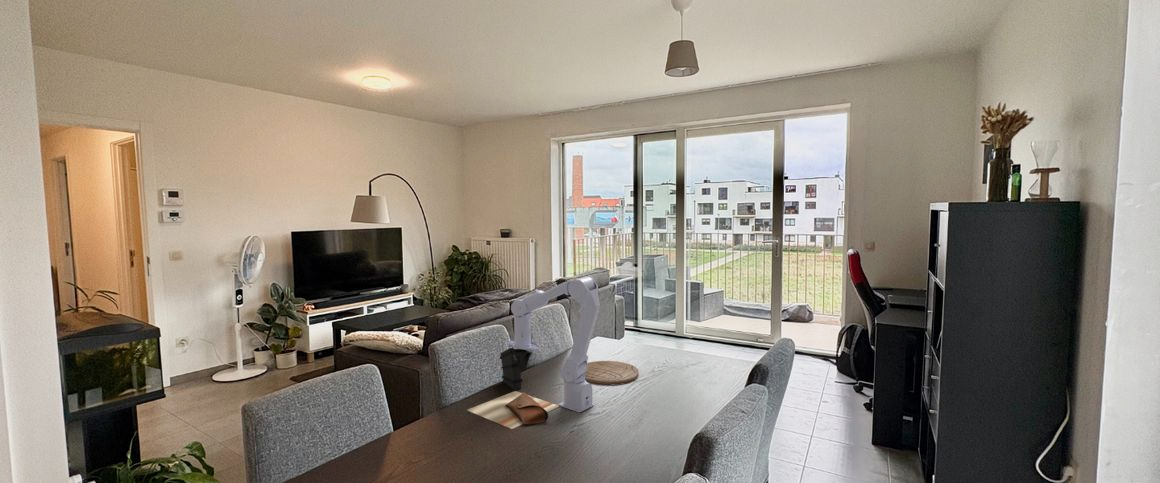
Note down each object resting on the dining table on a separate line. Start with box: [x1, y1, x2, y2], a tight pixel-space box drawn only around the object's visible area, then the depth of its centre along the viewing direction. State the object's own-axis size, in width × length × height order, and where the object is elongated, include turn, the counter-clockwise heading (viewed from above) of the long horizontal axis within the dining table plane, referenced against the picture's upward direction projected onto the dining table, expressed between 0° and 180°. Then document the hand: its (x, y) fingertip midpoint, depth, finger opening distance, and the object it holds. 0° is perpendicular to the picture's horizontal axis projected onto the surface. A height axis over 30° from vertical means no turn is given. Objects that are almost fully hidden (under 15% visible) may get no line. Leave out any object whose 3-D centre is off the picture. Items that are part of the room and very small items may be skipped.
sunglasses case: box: [505, 391, 549, 425], centre depth 156 cm, size 18×7×7 cm
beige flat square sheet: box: [466, 390, 561, 430], centre depth 160 cm, size 22×22×1 cm
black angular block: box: [499, 347, 523, 391], centre depth 182 cm, size 4×13×15 cm, turn 32°
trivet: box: [585, 360, 640, 386], centre depth 194 cm, size 25×25×2 cm
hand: (522, 369), depth 171 cm, fingers closed
